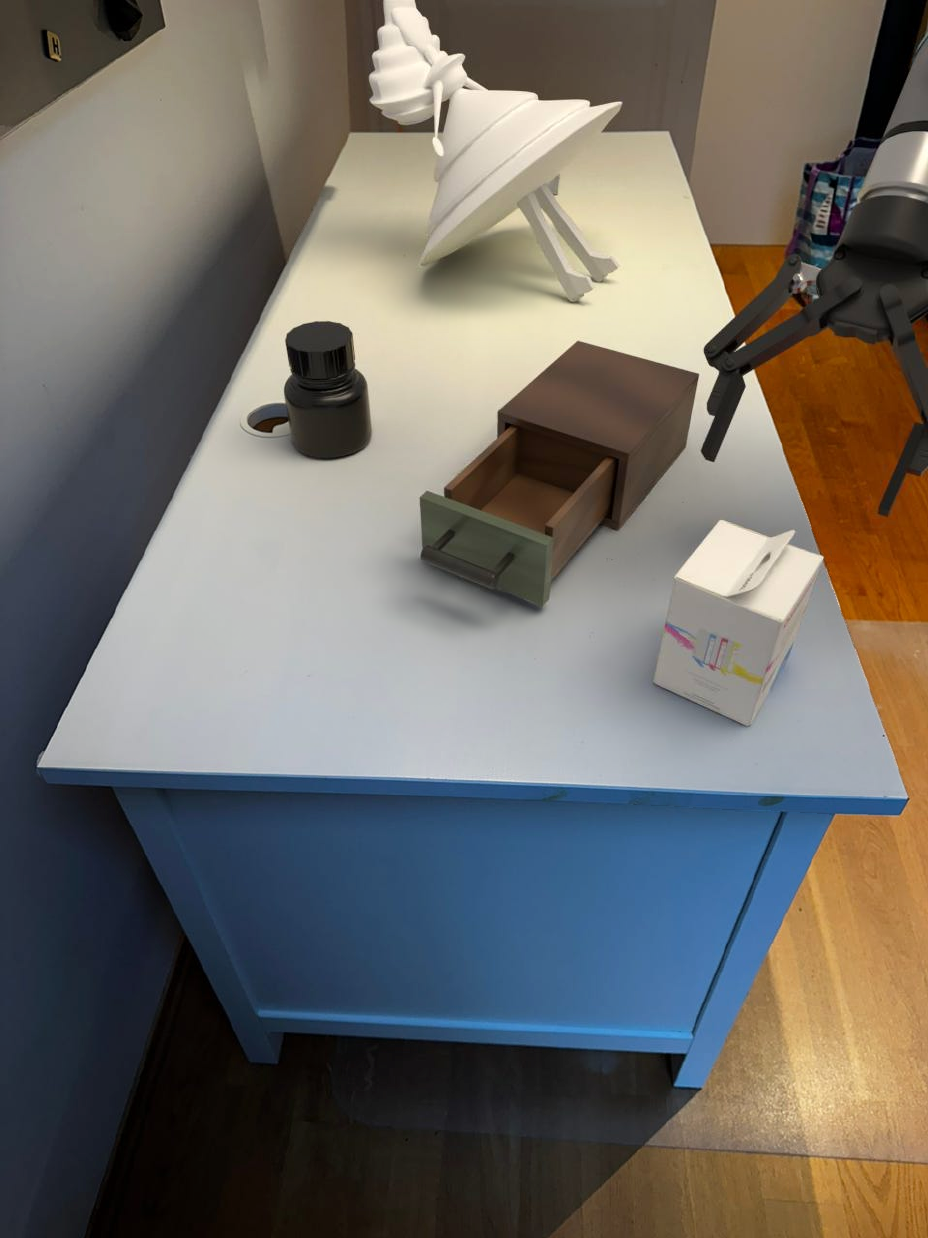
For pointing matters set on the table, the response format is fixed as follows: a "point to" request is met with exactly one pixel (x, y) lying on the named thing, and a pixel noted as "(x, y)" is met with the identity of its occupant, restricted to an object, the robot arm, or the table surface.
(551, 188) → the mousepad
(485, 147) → the figurine
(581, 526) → the drawer
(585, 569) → the table surface
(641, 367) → the cabinet
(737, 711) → the ink box
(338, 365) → the ink bottle
